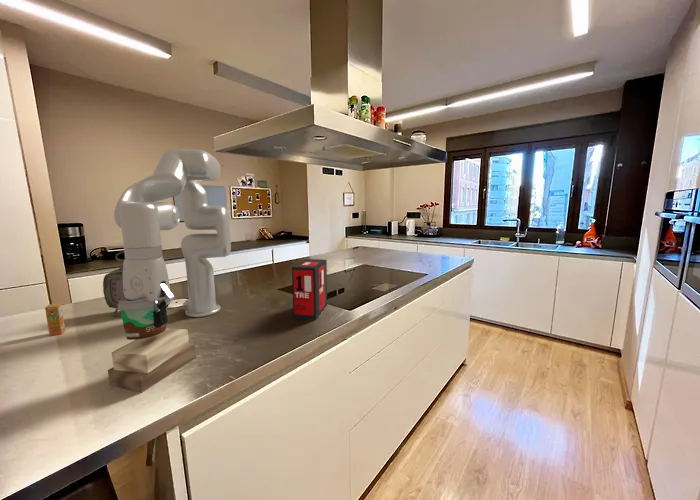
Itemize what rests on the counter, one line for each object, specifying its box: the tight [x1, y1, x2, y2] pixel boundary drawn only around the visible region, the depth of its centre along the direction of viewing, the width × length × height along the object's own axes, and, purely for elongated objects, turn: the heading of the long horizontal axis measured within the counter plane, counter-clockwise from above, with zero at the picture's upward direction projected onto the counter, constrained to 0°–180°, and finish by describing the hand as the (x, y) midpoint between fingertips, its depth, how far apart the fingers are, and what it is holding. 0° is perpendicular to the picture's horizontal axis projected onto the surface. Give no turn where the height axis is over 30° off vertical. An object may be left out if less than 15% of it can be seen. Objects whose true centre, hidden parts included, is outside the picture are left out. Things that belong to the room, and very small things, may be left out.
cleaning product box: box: [291, 258, 328, 321], centre depth 116 cm, size 16×9×20 cm, turn 170°
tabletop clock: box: [102, 250, 129, 317], centre depth 115 cm, size 14×9×25 cm, turn 114°
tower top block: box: [111, 327, 190, 373], centre depth 74 cm, size 9×14×4 cm, turn 172°
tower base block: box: [107, 343, 197, 394], centre depth 75 cm, size 10×16×4 cm, turn 165°
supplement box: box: [44, 302, 66, 337], centre depth 96 cm, size 3×3×10 cm
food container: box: [117, 294, 168, 341], centre depth 73 cm, size 12×6×10 cm, turn 168°
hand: (151, 323), depth 74 cm, fingers closed on food container, 5 cm apart
